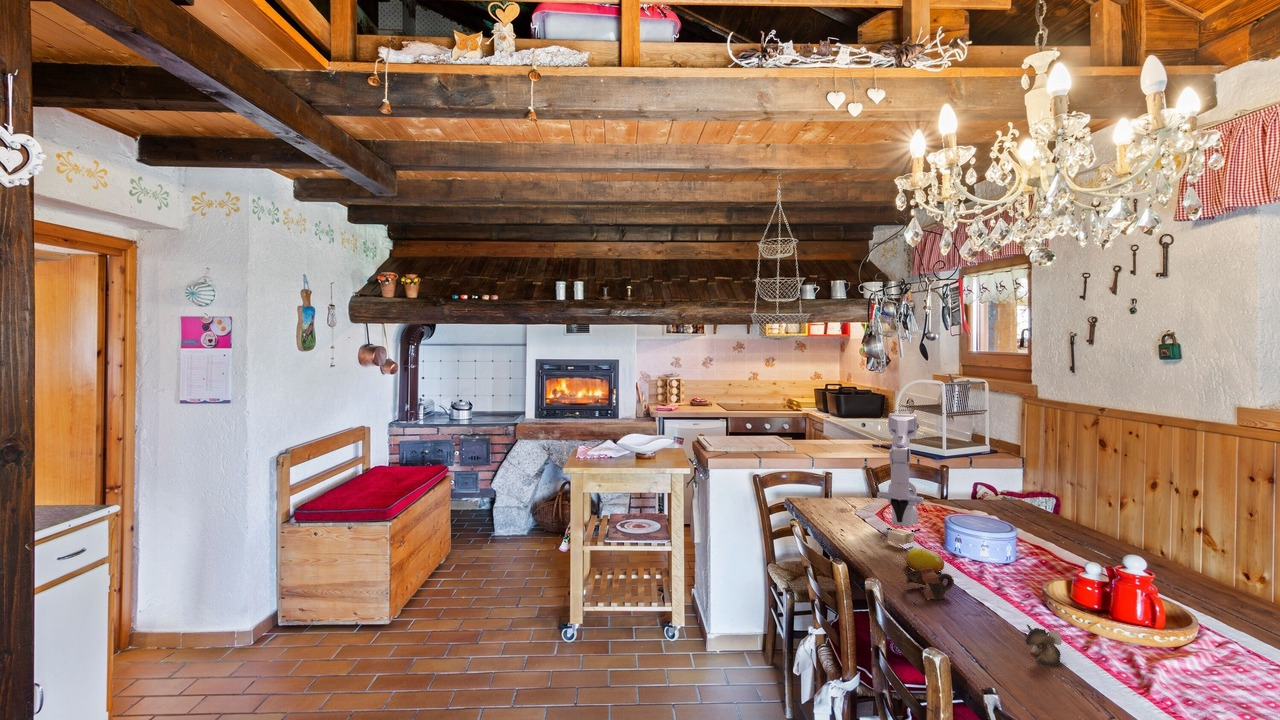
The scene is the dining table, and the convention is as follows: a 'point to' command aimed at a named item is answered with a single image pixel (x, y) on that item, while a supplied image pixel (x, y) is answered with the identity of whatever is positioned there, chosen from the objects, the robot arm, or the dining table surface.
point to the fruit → (924, 560)
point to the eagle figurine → (1045, 645)
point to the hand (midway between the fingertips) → (899, 521)
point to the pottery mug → (931, 582)
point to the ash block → (900, 536)
